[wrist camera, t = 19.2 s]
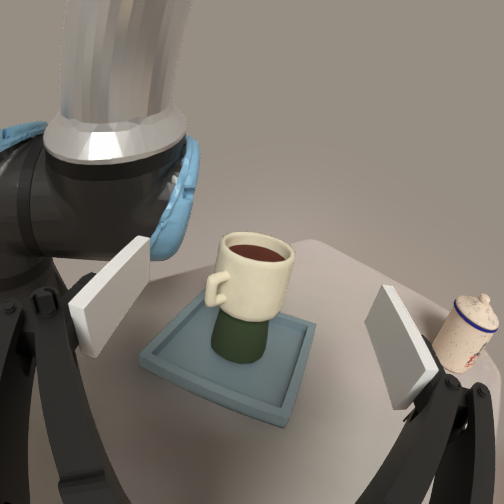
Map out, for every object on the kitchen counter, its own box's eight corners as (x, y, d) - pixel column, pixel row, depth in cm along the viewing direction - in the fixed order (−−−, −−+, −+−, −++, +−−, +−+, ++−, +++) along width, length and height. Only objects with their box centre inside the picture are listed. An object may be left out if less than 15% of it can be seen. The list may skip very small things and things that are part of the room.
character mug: (249, 316, 37) (269, 225, 32) (289, 346, 33) (321, 250, 28) (180, 347, 30) (186, 239, 24) (221, 389, 25) (240, 277, 20)
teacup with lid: (466, 384, 28) (509, 320, 24) (423, 356, 34) (460, 291, 29) (474, 348, 36) (505, 294, 32) (438, 326, 42) (466, 271, 37)
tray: (139, 365, 26) (137, 354, 26) (206, 297, 40) (207, 286, 40) (283, 428, 23) (288, 419, 22) (312, 334, 37) (316, 324, 36)
